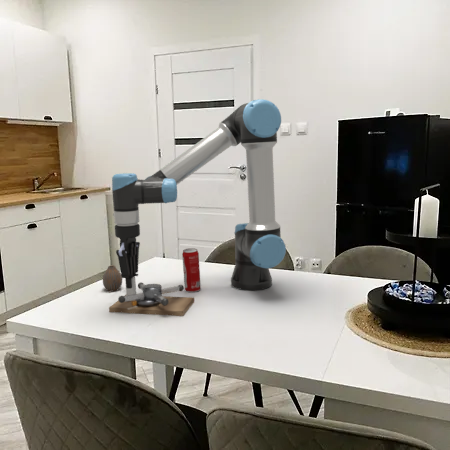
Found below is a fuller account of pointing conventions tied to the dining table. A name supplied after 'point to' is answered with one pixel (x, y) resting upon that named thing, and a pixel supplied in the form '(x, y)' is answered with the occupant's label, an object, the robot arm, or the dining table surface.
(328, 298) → the dining table surface
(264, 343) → the dining table surface
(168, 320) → the dining table surface
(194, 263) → the beverage can
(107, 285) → the vase
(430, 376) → the dining table surface
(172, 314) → the brown wooden board
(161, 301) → the cam capstan
